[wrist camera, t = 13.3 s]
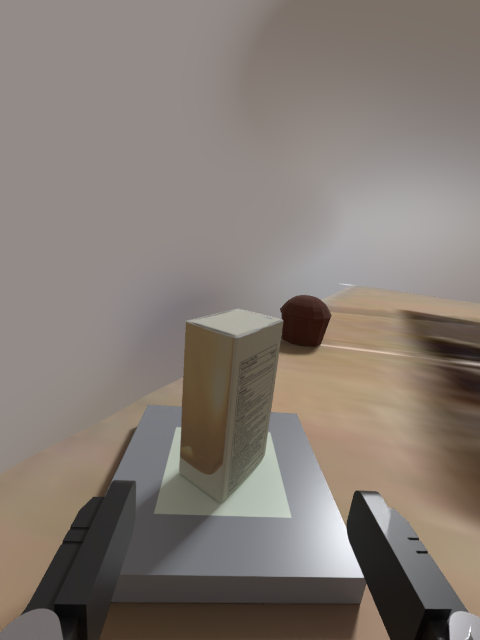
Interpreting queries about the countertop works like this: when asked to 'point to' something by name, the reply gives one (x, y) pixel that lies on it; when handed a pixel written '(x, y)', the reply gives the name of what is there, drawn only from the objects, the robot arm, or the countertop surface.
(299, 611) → the countertop surface
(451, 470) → the countertop surface
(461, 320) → the countertop surface
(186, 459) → the skincare box
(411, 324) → the countertop surface
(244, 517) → the plate
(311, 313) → the muffin
